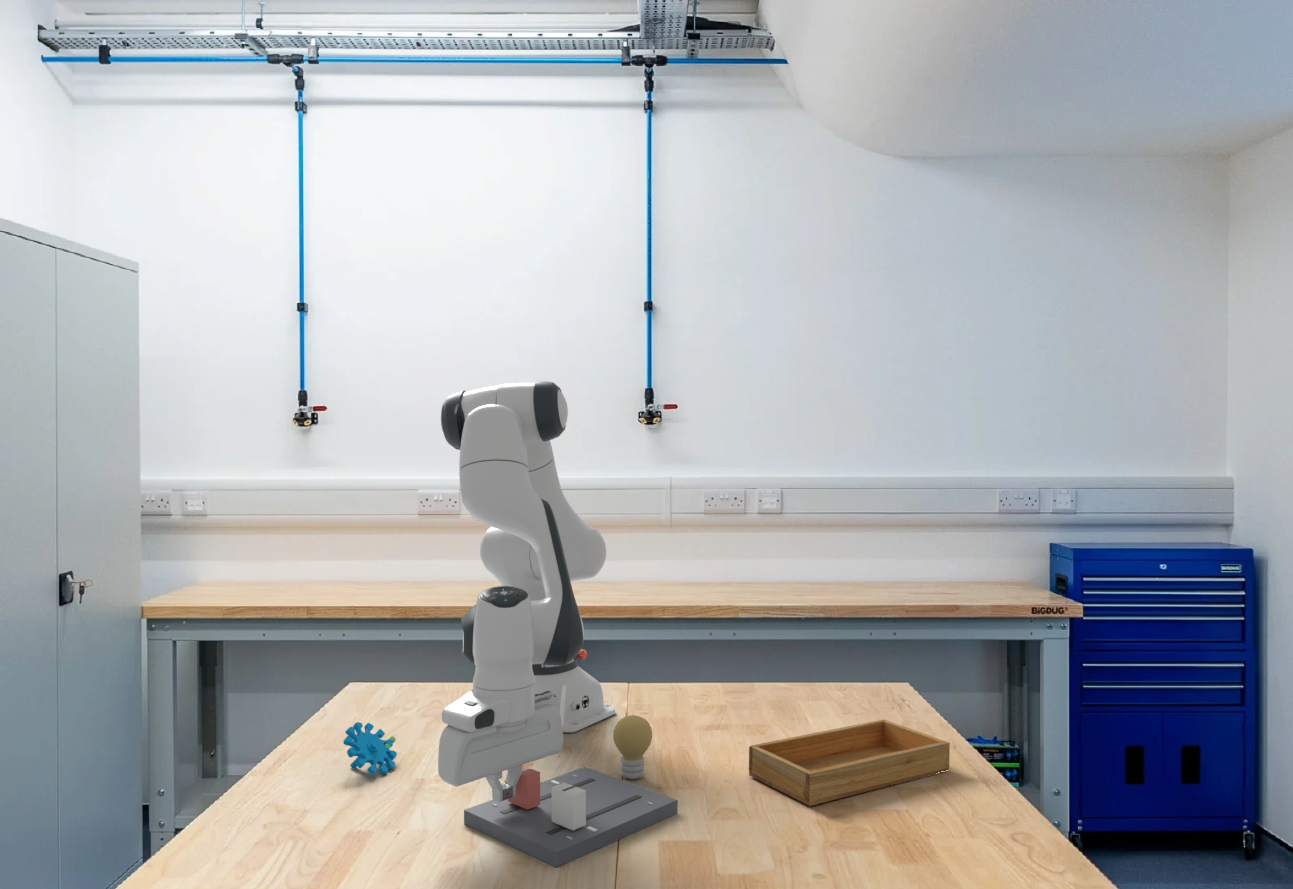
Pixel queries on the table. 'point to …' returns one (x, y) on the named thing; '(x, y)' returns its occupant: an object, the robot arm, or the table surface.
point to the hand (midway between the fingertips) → (504, 798)
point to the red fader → (527, 789)
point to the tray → (847, 760)
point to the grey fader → (568, 806)
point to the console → (608, 819)
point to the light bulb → (632, 744)
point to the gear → (369, 748)
